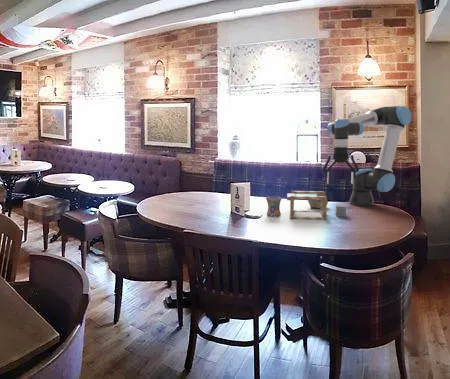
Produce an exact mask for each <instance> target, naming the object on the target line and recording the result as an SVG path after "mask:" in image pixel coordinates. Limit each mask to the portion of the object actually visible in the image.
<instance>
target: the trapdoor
mask: <svg viewBox="0 0 450 379" xmlns="http://www.w3.org/2000/svg"><path fill="white" fill-rule="evenodd" d="M290 196H317V194H296V193H291V192H290V193H288V192H287V194H286V201H290ZM295 200H296V199H294V201H295Z"/></svg>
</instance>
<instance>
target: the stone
mask: <svg viewBox="0 0 450 379" xmlns="http://www.w3.org/2000/svg"><path fill="white" fill-rule="evenodd" d="M346 215H347V205H346V204H335V216H336V217H338V218H340V217H342V218H343V217H344V218H346V217H347V216H346Z"/></svg>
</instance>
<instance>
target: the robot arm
mask: <svg viewBox="0 0 450 379" xmlns="http://www.w3.org/2000/svg"><path fill="white" fill-rule="evenodd" d="M411 120H412V114H411V110H410V109H409V108H408V107H407V106H406V105H405V106H404V105H395V106H382V107H381V106H380V107H378V108H376V109H372V110H369V111H367V112H366V113H364V114H362V115H357V116H354V117H350V118H342V119H340V118H337V119H335V121H334V122H329V123H328V124H327V127H326V131H327V133H328V135H333V136H334V144H333V145H334V146H335V147H333V148H334V149H333V154H331V155H330V154H328V157H327V159H326V162H325V164H324V165H323V166H322V168H321V170H322V172H324V177H325V178H326V183H327V185H328V184H329V183H330V182H329V180H330V176H329V175H330V169H332V168H333V166H334V165H335V164H336V163H337V164H340V163H341V164H344V163H345V164H346V165H347V167H349V168H350V170H351V173H350V174H351V176H350V177H351V179H350V184H352V193H351V196H350V198H349V205H353V206H356V207H358V206H359V207H370V206H373V205H375V200H374V196H373V194H372V191H377V192H383V193H387V192H389V191H390V190H393V188H394V186H395V183H396V176H395V174H393V173H394V171H393V169H392V168H393V164H394V160H395V157H396V156H395V155H396V151H397V148H398V144H399V140H400V136H401V132H402V131H404V130H405V128H406V126H408V125H409V124H410V123H411ZM368 126H371V127H373V126H374V127H375V126H384V127H385V132H384V138H383V141H382V144H381V148H380V153H379V156H378V159H377V160H378V161H377V164H376V166H375V167H373V169H372V168H362V169H361V168H359V167H358V165H357V163H356V160H355V158H354V155H353V154H349V151H348V150H349V147H348V146H349V136H360V135H362V134H363V133H364V131H365V128H366V127H368ZM331 159H334V160H333V161H332V162H331V163H330V161H331ZM348 159H349V160H351V162H352V164H353V166H352V165H351V163H350V162H348ZM329 163H330V164H329ZM328 165H329V166H328Z"/></svg>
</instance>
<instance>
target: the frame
mask: <svg viewBox="0 0 450 379" xmlns="http://www.w3.org/2000/svg"><path fill="white" fill-rule="evenodd" d="M290 193H296V194H321V196H290V200H289V201H290V202H289V203H290V204H289V207H290V208H289V209H290V211H289V213H290V214H289V219H291V220H319V221H320V220H323V221H324V220H325V221H326V220H327V208H328V207H327V206H328V204H327V201H328V199H327V198H328V197H327V196H326V195H325V194H326V192H325V191H324V190H323V191H321V190H317V191H316V190H290ZM294 199H295V200H308V199H313V200H321V208H320V210H310V209H309V210H303V209H302V210H296V209H295V200H294ZM295 212H320V214H321V217H296V216H295Z"/></svg>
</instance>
